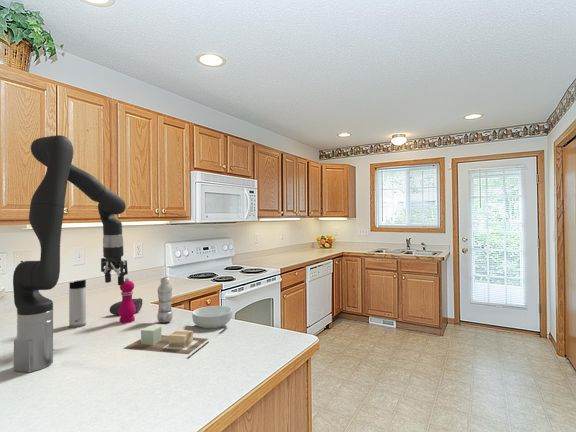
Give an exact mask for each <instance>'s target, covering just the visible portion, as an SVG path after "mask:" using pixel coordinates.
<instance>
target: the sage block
mask: <svg viewBox="0 0 576 432" xmlns="http://www.w3.org/2000/svg"><path fill="white" fill-rule="evenodd" d="M161 335H162V326H155V325H154V326H153V325H149V326H147V327H144V328H142V329H141V330H140V339H141V344H146V345H154V344H156V343H158V342H159V341H161Z"/></svg>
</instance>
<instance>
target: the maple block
mask: <svg viewBox="0 0 576 432" xmlns="http://www.w3.org/2000/svg"><path fill="white" fill-rule="evenodd" d="M168 336H169V347H179V348H185V347H186V346H188V345H189V344H191V343H192V342H193V338H194V331H193V330H189V329H188V330H186V329H185V330H184V329H177V330H175V331H174V332H171V334H168Z"/></svg>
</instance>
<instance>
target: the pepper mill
mask: <svg viewBox="0 0 576 432" xmlns="http://www.w3.org/2000/svg"><path fill="white" fill-rule="evenodd" d="M134 289H135V283H134V282H133V281H131V280H130V278H129V277H124V284H123V285H119V290H120V291H121V292H120V294H121V295H120V296H121V301H122V303H121V306H120V308H119V312H118V314H119V315H118V316H119V323H120V324H129V323H134V322H135V320H136V319H135V318H136V317H135V316H134V315H135V314H137V312H136V308H135V306H134V303H133V301H132V299H133V294H134V291H133V290H134Z"/></svg>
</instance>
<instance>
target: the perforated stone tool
mask: <svg viewBox="0 0 576 432" xmlns="http://www.w3.org/2000/svg"><path fill="white" fill-rule="evenodd" d="M132 301H133V303H134V306H135V308H136V313H139V312H140V311H141V309H142V307H143V299H142V298H140V297H139V298H132ZM121 303H122V300H120V301H117V302H114V303H113V304H112V305H111V306H110V307H109V313H110V314H112V315H114V316H115V315H116V316H120V315H119V314H118V312H119V308H120V306H121Z"/></svg>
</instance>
